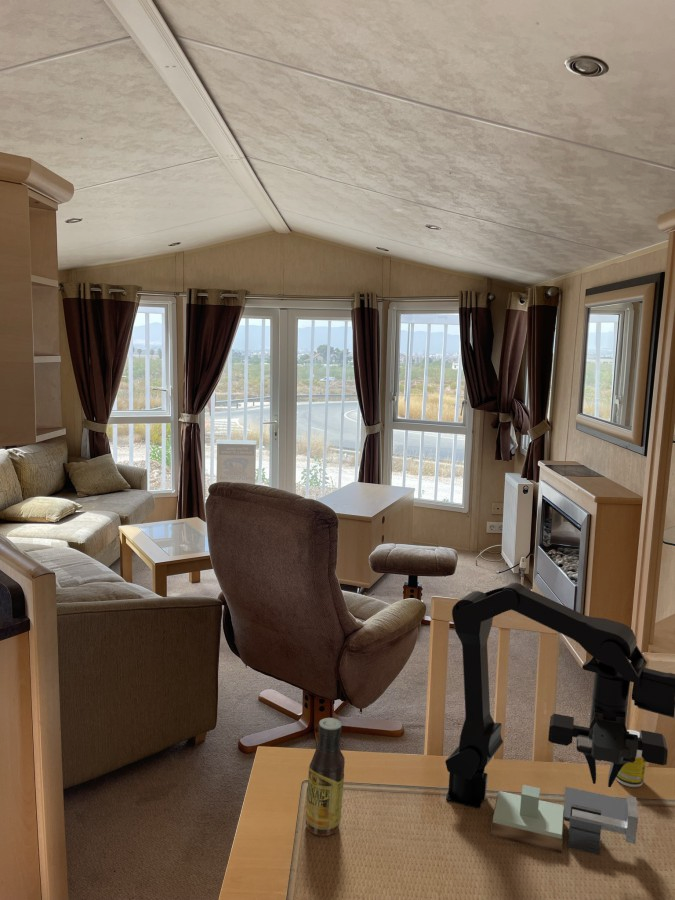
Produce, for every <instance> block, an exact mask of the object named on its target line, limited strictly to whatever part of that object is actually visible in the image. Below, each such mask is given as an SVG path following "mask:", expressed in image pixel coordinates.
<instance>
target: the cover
mask: <svg viewBox="0 0 675 900" xmlns="http://www.w3.org/2000/svg"><path fill="white" fill-rule="evenodd" d="M540 793H541V788H540V787H536V786H531V785H528V784H527V785H526V784H522V789H521V795H518V794H515V793H510V792H505V791H501V790H499V791H498V792H497V795H498V797H497V796H496V799H497V802H496V801H495V804H496V807H495V806H494V809H495V812H494V811H493V813H494V816H493V815H492V818H493V823H498V824H502V825H506V826H510V827H514V828H518V829H522V830H526V831H531V832H535V833H539V834H543V835H547V836H551V837H555V838H559V839H562V826H563V810H564V804H558V803H554V802H551V801H550V802H549V801H545V800H541V799H540Z"/></svg>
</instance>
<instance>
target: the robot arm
mask: <svg viewBox="0 0 675 900" xmlns="http://www.w3.org/2000/svg"><path fill="white" fill-rule="evenodd" d="M509 611H514V612H516V613H517V614H519V615H522V616H524V617H526V618H529V619H530V620H532V621H534V622H536V623H538V624H540V625H542V626H544V627H546V628H548V629H551V630H552V631H554V632H557V633H559V634H561V635H563V636H565V637H568V638H570V639H572V640H573V641H575V642H576V643H578V644H579V646H580V647H581V648H582V649H583V650H584V651H585V652H586V653H587V654H589V656H592V657H590V658H587V659H586V661H585V662H584V663H583V664H582V667H581V668H582V670H584V671H588V672H591V673H594V675H593V685H592V686H593V687H592V697H591V707H590V717H589V725H588V726H589V727H587V726H586V727H585V726H581V725H576V724H574V721H575V717H574V716H569V715H564V714H560V713H559V714H558V713H553V714H552V715H550V718H549V725H548V726H549V728H548V737H547V738H548V739H547V741H548V742H550V743H552V744H557V745H559V746H560V745H561V746H569V745H570V744H571V745H572V743H573V738H576V747H575V748H576V751H577V752H579V753H582V754H583V755H584V757H585V759H586V762H587V765H588V770H589V772H590V778H591V781H592V784H593V785H596V783H597V763H596V761H598V762H599V761H600V762H602V761H604V762H608V763H610V767H609V771H608V777H607V778H608V779H607V787H608V788H611V787H612V785H613V784H614V781H615V780H616V776H617V775H618V773H619V771H620V770H621V768H622V767H623V766H624V765H625V764H626V763H628V762H630V763H634V762H635V757H636V755H637V750H642V754H641V755H642V758H643V759H644V760H645V761H646V763H648V764H649V763H650V764H655V765H659V766H665V765H667V762H668V751H669V750H668V745H667V744H668V743H667V739H666V738H665V736H664V735H663V733H659V732H653V731H648V730H644V729H640V731H639V732H640V737H639V738H638V735H635V734H629V731H627V730H628V729H627V719H628V718H627V717H628V710H629V698H630V690H631V701H633V702H634V703H633V705H634V706H635V707H637V709H640V710H644V711H646V712H647V711H648V712H651V713H655V714H658V715H661V716H665V717H670V718H673V719H675V673H672V672H664V671H660V670H655V669H651V668H648V667H646V666H647V664H648V661H647V660H646V659H645V657H644V655H643V653H642V652H641V650H640V648H639V647H638V645H637V637H636V635H635V633H634V631H633V629H632V628H631V627H630V626H628V625H627V624H624V623H622V622H618V621H615V620H611V619H607V618H603V617H594V616H589V615H585V614H582V613H581V612H579V611H576V610H574V609H572V608H570V607H568V606H566V605H564V604H561V603H560V602H556V601H555V600H553V599H551V598H548V597H546V596H544V595H542V594H540V593H538V592H535V591H533V590H531V589H529V588H528V587H525V586H524V585H523V584H521V583H518V582H512V583H509V584H508V585H506V586H502V587H498V588H494V589H492V590H488V591H487V592H482V591H481V590H480V591H479V590H477V591H475V590H474V591H472V592H470V593H468V594H467V595H465V596H464V597H462V598H461V599H460V600H458V601H457V602H456V603H455V604H454V605H453V607H452V610H451V616H452V620H453V621H452V622H453V627H454V630H455V631H454V632H455V634H456V635H457V637H458V639H459V641H460V643H461V648H462V649H461V650H462V668H463V670H462V671H463V674H462V675H463V689H464V690H463V692H464V712H465V714H464V715H465V716H464V717H465V718H464V721H463V725H462V729H461V731H460V734H459V741H458V746H457V747H456V749H454V751H453V752H452V753H450V755H449V756H448V758H447V759H446V760H445V762H444V763H445V766H446V769H447V772H448V773H449V775H448V776H449V777H448V788H447V789H448V791H447V793H446V797H445V800H446V801H448V802H451V803H453V804H454V803H456V804H459V805H464V806H467V807H472V808H475V809H480V808H481V807H482V803H483V802H484V801H485V799H486V797H487V788H488V778H489V777H488V775H489V774H488V773H487V772H486V766H488V764H489V763H490V761H491V760H492V759H493V758H494V756H495V755H496V753H497V752H498V751H499V750H500V747H501V746H502V745H503V743H504V741H503V738H502V726H503V725H502V723H501V722H495V721H494V719H493V717H492V715H491V710H490V709H491V704H490V703H491V702H490V684H489V683H490V681H489V661H488V660H489V658H488V640H489V636H490V632H491V630H492V625H493V620H494V617H496V616H499V615H501V614H503V613H505V612H509ZM631 683H632V689H631Z"/></svg>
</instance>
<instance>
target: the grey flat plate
mask: <svg viewBox="0 0 675 900" xmlns="http://www.w3.org/2000/svg"><path fill="white" fill-rule="evenodd" d="M564 787H565V790H564V804H563V806H564V809H565V810H564V820H566V821H567V820H569V821H570V812H571V804H575V805H579V806H584V807H588V808H592V809H597V810H601V816H605V817H610V818H614V819H618V820H623V821H624V818H625V808H626V799H623V798H619V797H614V796H610V795H606V794H600V793H597V792H592V791H587V790H583V789H578V788H575V787H570V786H564Z"/></svg>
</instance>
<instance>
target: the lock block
mask: <svg viewBox="0 0 675 900" xmlns="http://www.w3.org/2000/svg"><path fill="white" fill-rule="evenodd" d="M572 809H575V810H579V811H583V812H588V813H592V814H597V815H601V810H597V809H592V808H588V807H584V806H579V805H575V804H571V812H570V820H569V822H568V823H569V824H568V836H567V837H568V839H567V840H568V841H567V848H569V849H573V850H576V851H580V852H585V853H589V854H594V855H597V856H599V852H600V844H601V835H602V834H601V833H602V829H601V823H600V822H596V821H592V820H587V819H583V818H579V817H574V816H572Z"/></svg>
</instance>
